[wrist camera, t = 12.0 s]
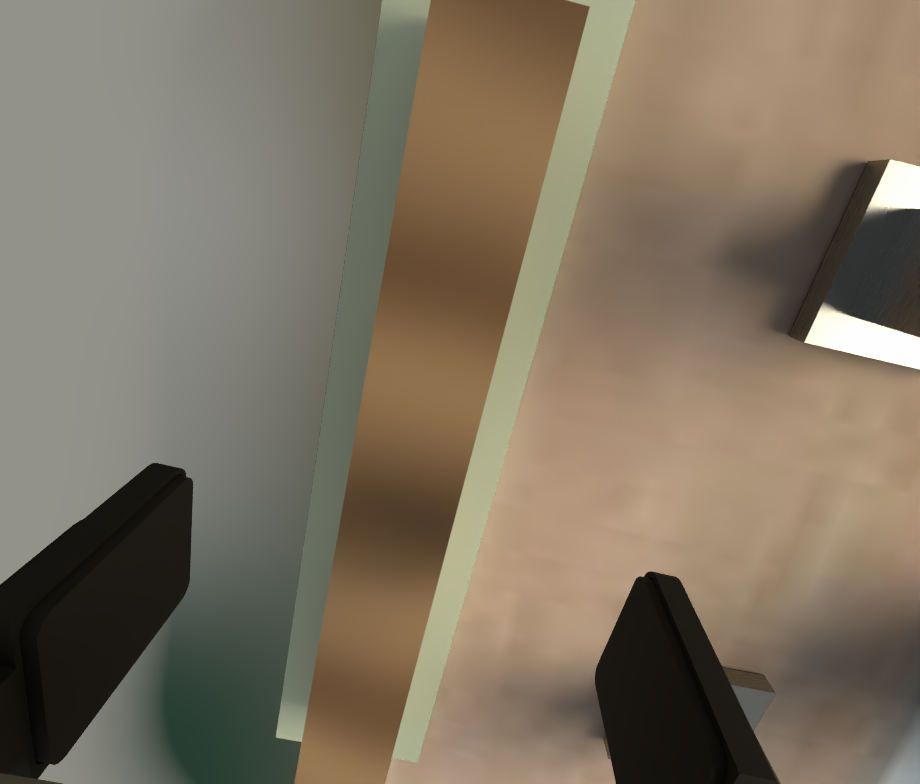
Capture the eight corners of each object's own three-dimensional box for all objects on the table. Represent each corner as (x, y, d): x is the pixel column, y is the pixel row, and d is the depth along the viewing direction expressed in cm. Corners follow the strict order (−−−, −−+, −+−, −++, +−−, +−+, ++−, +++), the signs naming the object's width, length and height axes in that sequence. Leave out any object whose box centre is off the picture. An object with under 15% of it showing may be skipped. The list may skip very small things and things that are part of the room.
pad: (399, -82, 13) (395, -95, 12) (636, -18, 13) (643, -28, 12) (280, 723, 22) (275, 737, 22) (418, 748, 23) (417, 762, 22)
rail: (445, 20, 13) (436, -35, 10) (562, 51, 13) (589, 6, 10) (318, 709, 21) (292, 793, 18) (391, 722, 21) (378, 808, 18)
